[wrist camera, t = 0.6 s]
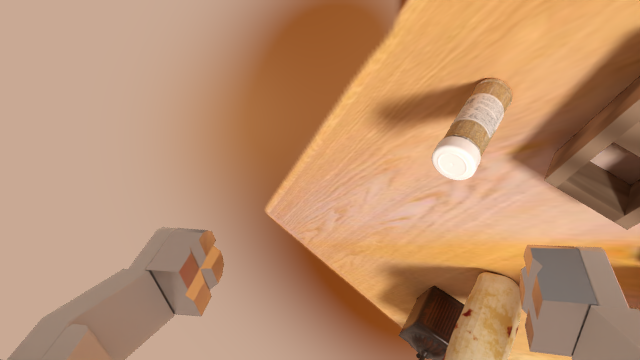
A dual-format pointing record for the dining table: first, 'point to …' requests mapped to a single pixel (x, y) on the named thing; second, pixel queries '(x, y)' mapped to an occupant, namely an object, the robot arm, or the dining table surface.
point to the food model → (487, 320)
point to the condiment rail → (589, 179)
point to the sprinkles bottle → (472, 130)
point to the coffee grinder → (432, 323)
